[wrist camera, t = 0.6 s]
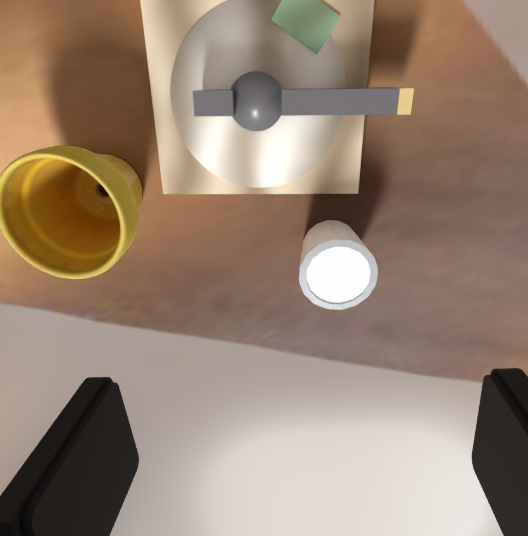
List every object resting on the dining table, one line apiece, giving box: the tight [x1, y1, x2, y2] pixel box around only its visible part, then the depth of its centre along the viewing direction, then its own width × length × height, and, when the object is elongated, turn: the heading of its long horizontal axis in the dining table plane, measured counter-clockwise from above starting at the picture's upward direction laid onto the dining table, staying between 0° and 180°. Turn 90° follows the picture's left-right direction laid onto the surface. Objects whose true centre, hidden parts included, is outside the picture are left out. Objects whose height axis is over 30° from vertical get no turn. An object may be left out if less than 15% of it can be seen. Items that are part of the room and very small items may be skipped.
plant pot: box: [0, 146, 142, 279], centre depth 36 cm, size 10×10×10 cm
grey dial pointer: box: [192, 71, 414, 131], centre depth 33 cm, size 16×4×3 cm, turn 91°
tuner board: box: [140, 0, 374, 194], centre depth 35 cm, size 18×16×2 cm
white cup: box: [299, 220, 378, 310], centre depth 39 cm, size 7×7×7 cm
